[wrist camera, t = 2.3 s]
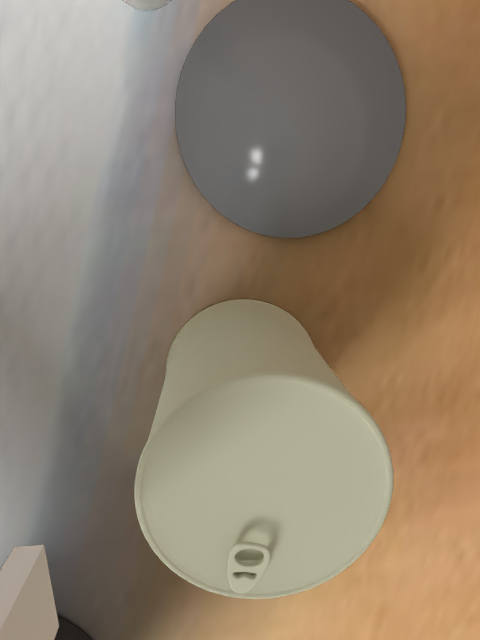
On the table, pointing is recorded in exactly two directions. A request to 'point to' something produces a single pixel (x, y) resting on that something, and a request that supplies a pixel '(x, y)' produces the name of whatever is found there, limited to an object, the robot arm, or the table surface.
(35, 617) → the robot arm
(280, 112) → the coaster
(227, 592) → the can
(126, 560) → the table surface
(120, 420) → the table surface
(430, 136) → the table surface
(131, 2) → the salt shaker
